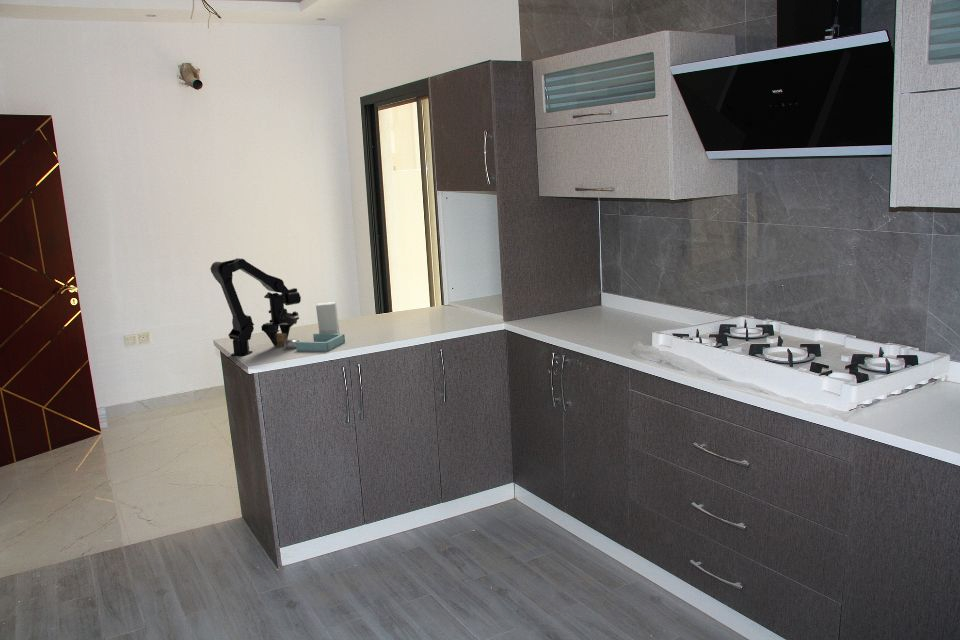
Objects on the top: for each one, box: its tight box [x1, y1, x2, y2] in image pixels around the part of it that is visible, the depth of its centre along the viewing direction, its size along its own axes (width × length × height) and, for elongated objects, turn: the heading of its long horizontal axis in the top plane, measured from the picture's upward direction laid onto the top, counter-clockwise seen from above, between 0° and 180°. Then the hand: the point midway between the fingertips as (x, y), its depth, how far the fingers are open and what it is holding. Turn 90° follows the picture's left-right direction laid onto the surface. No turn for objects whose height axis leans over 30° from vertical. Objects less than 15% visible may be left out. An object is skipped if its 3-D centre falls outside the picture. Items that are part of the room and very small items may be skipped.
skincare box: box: [315, 301, 341, 334], centre depth 351 cm, size 8×7×16 cm
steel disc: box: [284, 338, 300, 350], centre depth 336 cm, size 6×6×3 cm
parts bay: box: [295, 333, 346, 352], centre depth 336 cm, size 16×14×4 cm
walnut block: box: [273, 332, 287, 348], centre depth 341 cm, size 4×4×5 cm
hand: (280, 343), depth 341 cm, fingers open, 9 cm apart
